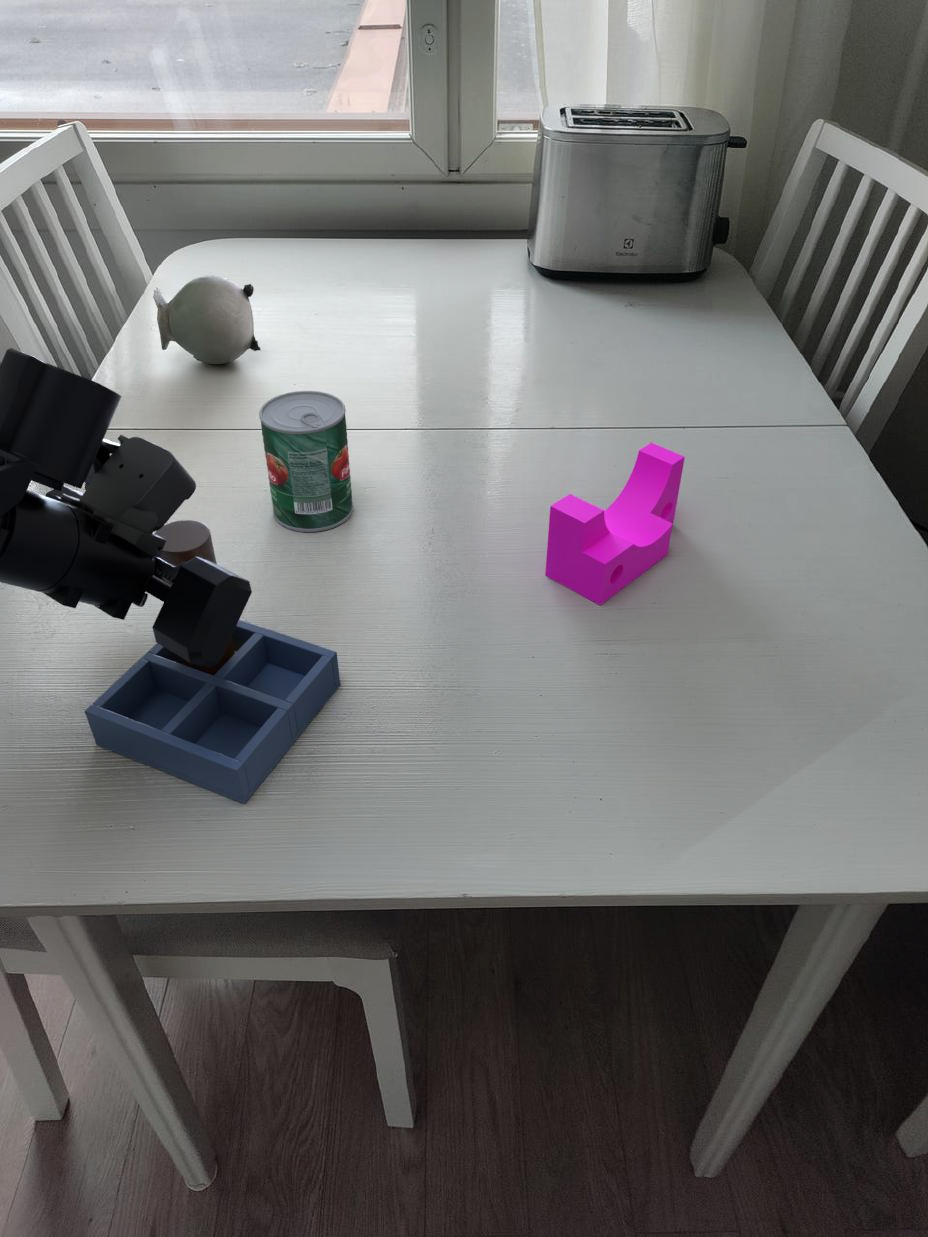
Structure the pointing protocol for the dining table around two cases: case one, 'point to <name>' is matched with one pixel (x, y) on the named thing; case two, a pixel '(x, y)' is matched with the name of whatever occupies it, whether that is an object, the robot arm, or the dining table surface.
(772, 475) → the dining table surface
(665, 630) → the dining table surface
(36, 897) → the dining table surface
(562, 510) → the toy block
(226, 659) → the brown wooden dowel
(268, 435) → the canned tomato
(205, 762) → the grid
